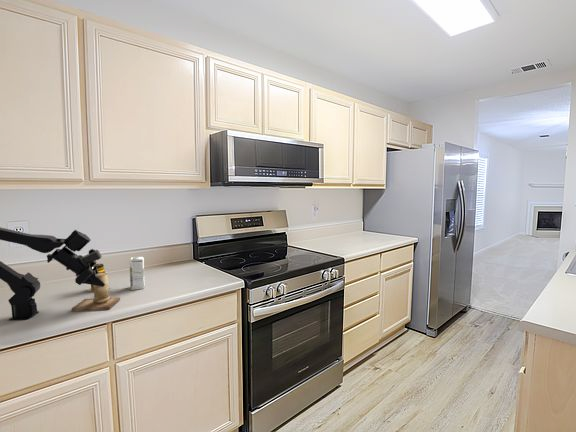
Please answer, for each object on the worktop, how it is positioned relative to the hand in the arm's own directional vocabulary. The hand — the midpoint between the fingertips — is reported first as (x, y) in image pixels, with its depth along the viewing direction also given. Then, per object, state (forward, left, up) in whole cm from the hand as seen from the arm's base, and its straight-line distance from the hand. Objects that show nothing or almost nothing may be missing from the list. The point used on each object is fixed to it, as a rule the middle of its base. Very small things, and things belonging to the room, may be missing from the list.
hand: (104, 283), depth 129 cm
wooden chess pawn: (-1, 0, -7) cm, 7 cm away
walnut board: (-3, 0, -9) cm, 9 cm away
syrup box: (+6, +21, -9) cm, 23 cm away
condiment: (-12, +21, -9) cm, 26 cm away
